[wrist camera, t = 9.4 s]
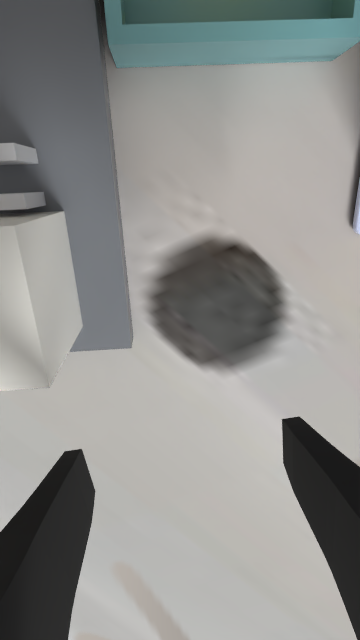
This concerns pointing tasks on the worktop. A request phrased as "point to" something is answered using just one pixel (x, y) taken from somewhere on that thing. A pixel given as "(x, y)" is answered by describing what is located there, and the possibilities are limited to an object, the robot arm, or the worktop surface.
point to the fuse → (35, 299)
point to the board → (65, 150)
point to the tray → (229, 31)
